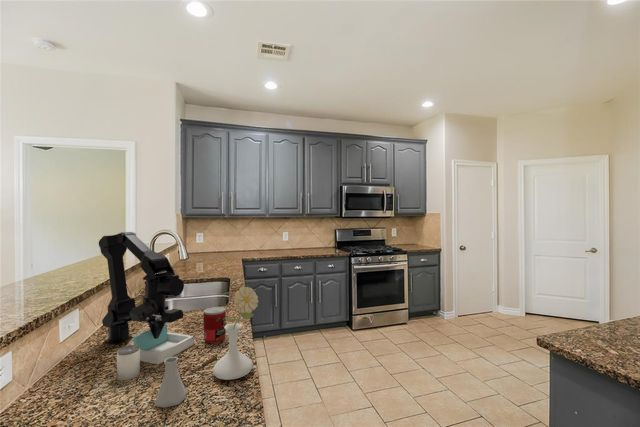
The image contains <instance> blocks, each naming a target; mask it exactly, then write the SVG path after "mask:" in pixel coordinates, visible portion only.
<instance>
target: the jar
mask: <svg viewBox="0 0 640 427" xmlns="http://www.w3.org/2000/svg"><path fill="white" fill-rule="evenodd" d="M116 352H117V353H116V380H118V381H120V382H122V381H123V380H124V381H128V380H129V381H130V380H132V379H134V377H135V378H137V377H138V376H139V375H140V373H141V361H140V348H139V346H138V345H134V344H133V345H132V344H130V345H126V346H123V347H121V348H119V349H118V350H117V351H116ZM137 375H138V376H137Z"/></svg>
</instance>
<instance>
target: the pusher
mask: <svg viewBox="0 0 640 427" xmlns="http://www.w3.org/2000/svg"><path fill="white" fill-rule="evenodd" d="M167 332H168V323H166V324H165V325H164V327H163V329H162V331H161V333H160V336H159V338H157V339H154V337H153V334H152V332H151V329H147V330H145V331H143V332H140V333H139V334H137V335H133V345H138V346H139V348H140V350H148V349H150V348H152V347H154V346H156V345H158V344H160V343H163V342H165V341H167Z"/></svg>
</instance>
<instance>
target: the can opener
mask: <svg viewBox="0 0 640 427" xmlns="http://www.w3.org/2000/svg"><path fill="white" fill-rule="evenodd" d="M216 360H217V356H213V357H211V358H210V359H209V360H207V361H205V362H204V363H202V365H200V366H197V367H196V368H194V369H193V370H192V372H197V370H200V369H203V368H204V367H206V366H207V365H209V364H211V363H212V362H214V361H216Z"/></svg>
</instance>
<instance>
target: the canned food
mask: <svg viewBox="0 0 640 427" xmlns="http://www.w3.org/2000/svg"><path fill="white" fill-rule="evenodd" d="M226 316H227V315H226V308H225V307H222V306H212V307H208V308H205V309H204V310H203V341H204V342H205V343H208V344H216V343H219V342H223V341H224V340H225V339H226V333H227V331H226V329H225V328H224V326H226V325H227V324H226V321H227V320H226Z"/></svg>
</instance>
